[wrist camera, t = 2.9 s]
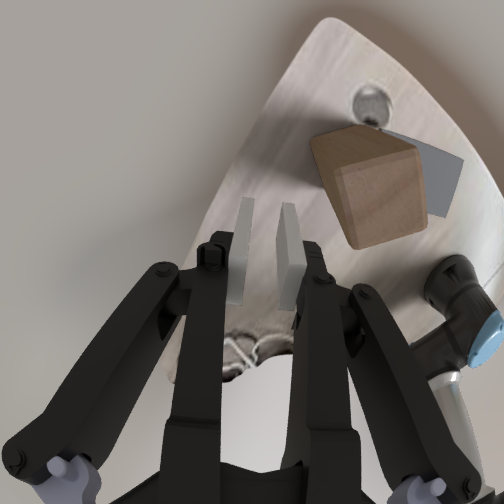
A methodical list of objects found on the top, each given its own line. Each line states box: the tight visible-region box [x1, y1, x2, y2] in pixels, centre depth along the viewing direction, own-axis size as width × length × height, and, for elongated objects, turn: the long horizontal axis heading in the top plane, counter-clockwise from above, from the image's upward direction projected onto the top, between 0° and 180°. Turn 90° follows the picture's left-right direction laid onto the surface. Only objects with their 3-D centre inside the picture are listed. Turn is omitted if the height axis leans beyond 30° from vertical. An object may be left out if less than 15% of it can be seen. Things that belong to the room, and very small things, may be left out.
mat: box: [381, 129, 464, 218], centre depth 41 cm, size 20×13×1 cm, turn 84°
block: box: [310, 124, 428, 250], centre depth 33 cm, size 10×10×20 cm
